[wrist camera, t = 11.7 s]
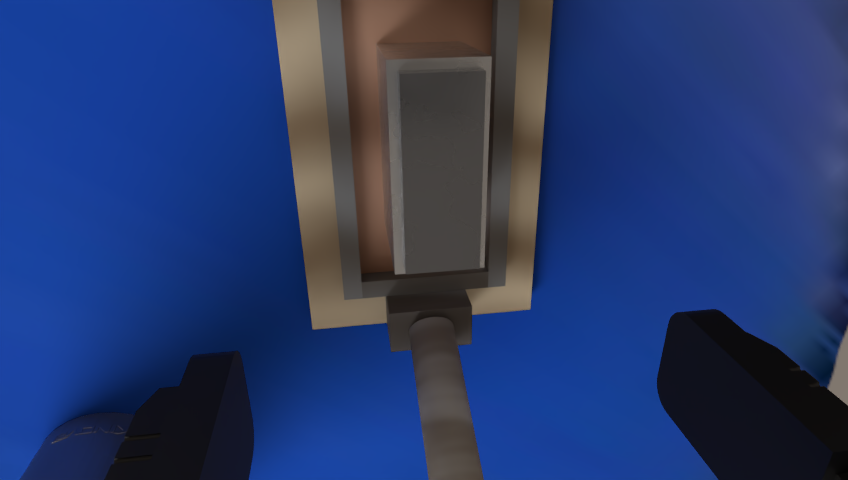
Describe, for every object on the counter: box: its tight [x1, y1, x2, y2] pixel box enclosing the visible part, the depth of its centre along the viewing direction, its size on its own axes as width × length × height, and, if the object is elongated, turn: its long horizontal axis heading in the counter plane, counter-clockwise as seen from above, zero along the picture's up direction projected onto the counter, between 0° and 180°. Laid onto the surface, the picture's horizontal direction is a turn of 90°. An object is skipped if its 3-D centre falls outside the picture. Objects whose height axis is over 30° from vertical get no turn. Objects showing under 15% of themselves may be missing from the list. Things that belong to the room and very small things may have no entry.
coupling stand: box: [272, 0, 553, 480], centre depth 23 cm, size 31×13×15 cm, turn 1°
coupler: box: [376, 41, 492, 275], centre depth 25 cm, size 4×9×7 cm, turn 1°
